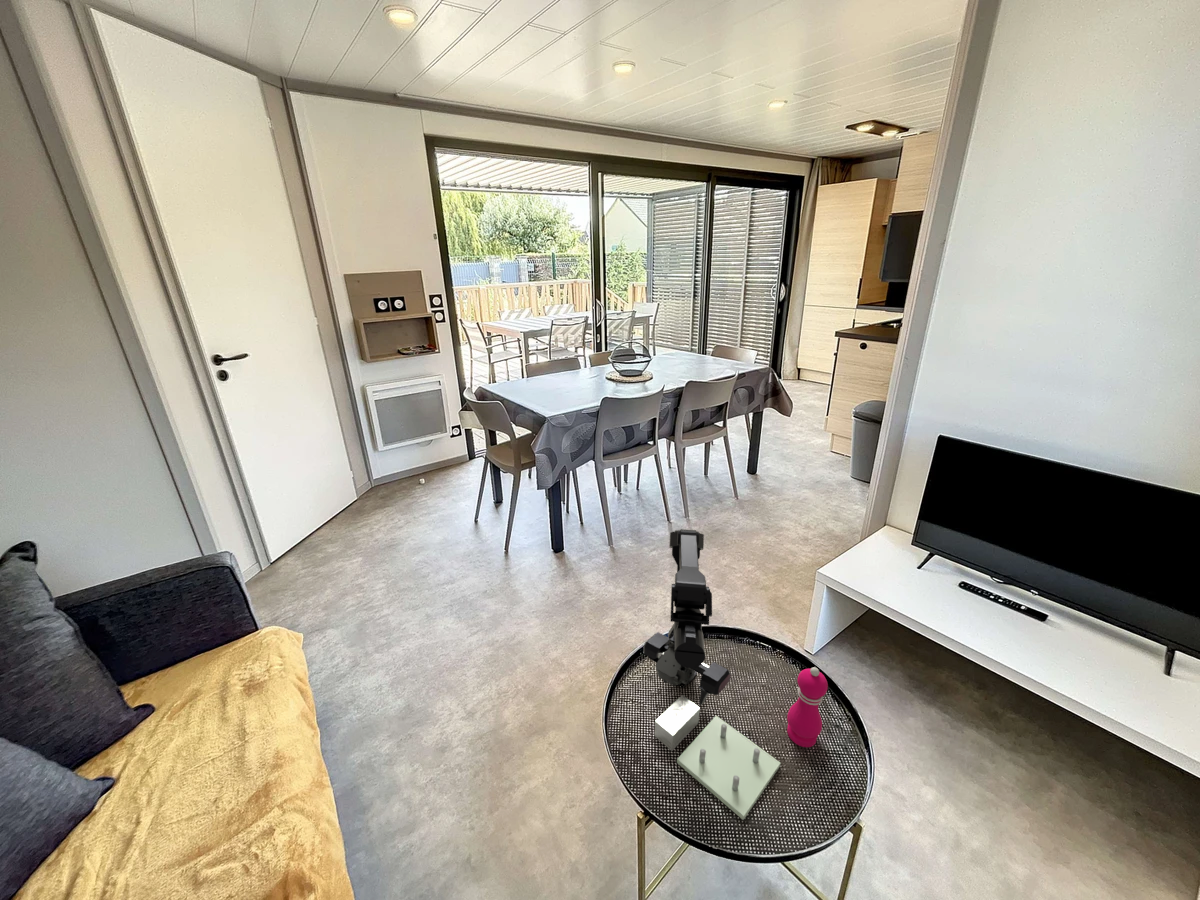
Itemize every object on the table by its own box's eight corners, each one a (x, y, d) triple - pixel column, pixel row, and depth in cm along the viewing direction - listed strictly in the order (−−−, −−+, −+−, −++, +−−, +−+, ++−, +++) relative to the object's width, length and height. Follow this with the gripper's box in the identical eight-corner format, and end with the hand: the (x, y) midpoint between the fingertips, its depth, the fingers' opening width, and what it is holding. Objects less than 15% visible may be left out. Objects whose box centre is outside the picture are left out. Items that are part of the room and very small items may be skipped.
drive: (671, 751, 106) (672, 735, 104) (654, 736, 109) (655, 720, 107) (699, 721, 113) (701, 706, 111) (682, 708, 116) (683, 693, 114)
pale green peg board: (676, 762, 103) (678, 749, 102) (715, 719, 113) (717, 706, 111) (743, 820, 93) (745, 806, 91) (779, 766, 102) (782, 753, 101)
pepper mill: (824, 748, 106) (841, 681, 99) (793, 751, 106) (807, 683, 98) (809, 719, 113) (823, 654, 105) (779, 721, 112) (791, 656, 105)
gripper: (629, 632, 101) (627, 691, 106) (707, 676, 90) (701, 741, 94) (659, 608, 109) (656, 664, 114) (734, 646, 97) (728, 707, 102)
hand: (683, 692), depth 106 cm, fingers open, 9 cm apart
